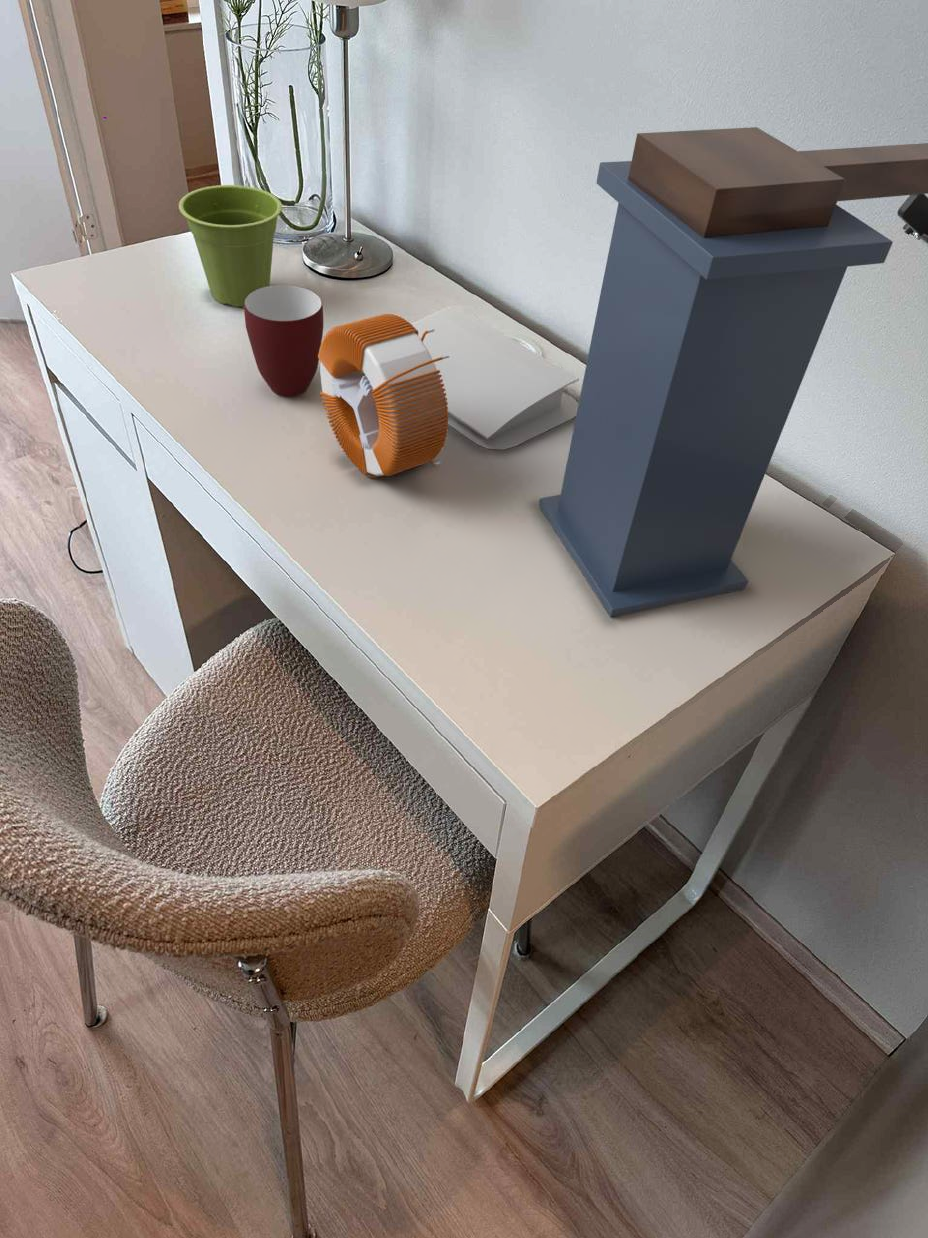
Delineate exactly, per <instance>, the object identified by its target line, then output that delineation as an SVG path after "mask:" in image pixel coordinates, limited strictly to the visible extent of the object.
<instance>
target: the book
mask: <svg viewBox="0 0 928 1238" xmlns="http://www.w3.org/2000/svg"><path fill="white" fill-rule="evenodd" d="M410 324H411V325H413V327H415V328H416V330H418V336H419V337H420V339H421V338H422V335H423V333H424V332H425V331H427V330H430V329H434V332H430V333H427V334H426V335H425V337H424V340H423V343H424V345H425V346H426V348H427V350H428V351H429V353H430V356H431V358H432V360H433V359H436V358H439V357H443V356H446V355H449V358H446V359H442V360H439V361H436V362H434V364H435V366H436V369H437V370H440V373H438V375H442V377H440V379H443V382H441V384H444V387H442V388H445V391H444V392H443V393H446V396H445V397H446V398H447V400H446V402H448V405H447V406H448V412H449V413H448V416H449V418H448V420H449V422H448V426H450V427H452V428H453V429H454V430H456V431H457V432H459V433H460V434H462V435H463V436H464V437H466V438H467V439H469V440H470V441H472V442H473V443H474V444H476V445H478V446H480V447H483V448H485V449H488V450H500V451H501V450H502V451H503V450H507V449H512V448H514V447H517V446H519V445H521V444H523V443H525V442H527V441H529V440H532V439H533V438H535V437H537V436H539V435H542V434H544V433H546V432H548V431H550V430H551V429H554V428H555V427H558V426H560V425H562V424H564V423H566V422H568V421H570V420H572V419H574V418H576V414H577V409H578V404H579V402H578V401H577V400H575V398H574V397H572V396H570V395H569V394H567V393H565V392H564V388H566V387H568V386H570V385H572V384H574V383H577V382H579V381H580V378H578V377H577V376H575V375H574V374H572V373H570V372H569V371H567V370H565V369H563V368H562V367H560V366H558V365H556V364H555V363H553V362H551V361H550V360H548V359H546V358H545V357H543V356H541V355H540V354H538V353H536V352H535V351H533V350H531V349H530V348H528V347H526V345H525V346H524V345H523V344H521V343H520V342H518V341H516V340H515V339H513V338H511V337H509V336H508V335H506V334H504V333H503V332H502V331H499V330H498V329H496V328H494V327H492V326H491V325H489V324H488V323H486V322H484V321H482V320H480V319H479V318H477V317H475V316H474V315H473V314H471V313H469V312H467V311H465V310H464V309H462V308H461V307H458V306H457V305H455V304H452V305H449V306H447V307H444V308H441V309H439V310H437V311H434V312H432V313H430V314H428V315H425V316H424V317H421V318H419V319H417V320H416V321H414V322H412V323H410Z"/></svg>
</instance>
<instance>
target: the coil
mask: <svg viewBox="0 0 928 1238" xmlns="http://www.w3.org/2000/svg"><path fill="white" fill-rule="evenodd" d="M411 324H412V323H411V322H410V321H408V320H407V319H405V318H404V317H402V316H399V315H396V314H394V313H383V314H379V315H375V316H372V317H371V316H370V317H367V318H363V319H360V320H356V321H352V322H347V323H345V324H341V325H337V326H335V327H332V328H331V329H330V330H328V331H327V332H326V333H325V335H324V337H322V342H321V346H320V349H319V354H318V358H319V362H320V365H319V366H320V367H319V368H320V369H319V374H320V384H321V391H320V395H321V396H320V398H321V399H322V400H321V402H322V403H323V405H322V406H323V407H324V411H325V415H328V416H327V418H326V419H328V423H329V426H330V427H331V431H333V435H335V436H334V437H335V439H336V440H337V442H338V444H339V446H340V448H341V449H342V451H343V452H344V454H345V455H346V457H347V458H348V459H349V461H350V462H351V463H352V464H353V465H354V466H355V467H356V469H358V470H359V471H360V472H361V473H363V474H364V475H365V476H366V477H368V478H380V477H381V478H382V477H385V476H386V477H390V476H393V475H396V474H398V473H401V472H404V471H408V470H410V469H412V468H415V467H419V466H421V465H423V464H426V463H430V464H431V466H432V467H435V466H438V465H441V464H442V462H441V461H437V462H434V460H435V459H436V458H437V457H438V456H439V455H440V453H441V452H442V450H443V448H444V446H445V443H446V440H447V437H448V430H449V424H448V422H449V420H448V418H449V416H448V413H449V412H448V406H447V405H448V402H446V400H447V398H446V397H445V396H446V393H443V392H444V391H445V388H442V387H444V384H441V382H443V379H440V377H442V375H438V373H440V370H437V369H436V366H435V364H434V362H436V361H439V360H442V359H446V358H449V355H446V356H443V357H439V358H436V359H433V360H432V358H431V356H430V353H429V351H428V350H427V348H426V346H425V345H424V343H423V340H424V337H425V335H426V334H427V333H430V332H434V329H430V330H427V331H425V332H424V333H423V335H422V338H421V339H420V337H419V336H418V330H416V328H415V327H413V325H411Z"/></svg>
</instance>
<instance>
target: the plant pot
mask: <svg viewBox="0 0 928 1238" xmlns="http://www.w3.org/2000/svg"><path fill="white" fill-rule="evenodd" d="M178 209H179V212H180V213H181V215H182V216H183V217H185V219H186V221H187V226H188V229H189V231H190V232H191V234H192V236H193V238H194V242H195V246H196V248H197V252H198V255H199V258H200V261H201V265H202V268H203V271H204V275H205V279H206V281H207V285H208V288H209V292H210V294H211V297H212V298H213V299H214V300H215V301H216V302H218V303H219V304H222V305H224V304H228V305H231V306H233V307H238V308H242V307H243V308H244V300H245V298H246V297H247V296H248V295H249V294H250V293H251V292H253V291H255V290H257V289H260V288H263V287H267V286H271V277H272V276H271V275H272V264H273V263H272V262H273V261H272V260H273V251H274V239H275V233H276V231H277V222H278V217H279V215H280V214H281V212H282V209H283V205H282V202H281V200H280V199H279V198H278V197H277V196H275V195H274V194H273V193H271V192H269V191H267V190H264V189H261V188H257V187H254V186H248V185H237V184H218V185H211V186H205V187H201V188H198V189H194V190H193V191H190V192H188V193H187V194H185V195H184V196H182V198H181V199H180V200H179V202H178Z"/></svg>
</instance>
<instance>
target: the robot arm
mask: <svg viewBox="0 0 928 1238" xmlns="http://www.w3.org/2000/svg"><path fill="white" fill-rule="evenodd" d="M897 216H898V217H899V218H900V219H901V220H902V221H903V222H904V223H905V224H904V225H903V226H902V230H904V233H905V234H906V235H907V234H908V235H907V236H910V235H909V234H911V235H913V236H914V235H915V238H916V239H917V240H921V241H922V242H923V243H925V244H926V245H927V246H928V196H927V194H917V195H908V197H907V198H906V199H905V201H904V202H903V203H902V204H901V205H900V207H899V208H898V209H897ZM905 230H906V231H905Z"/></svg>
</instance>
